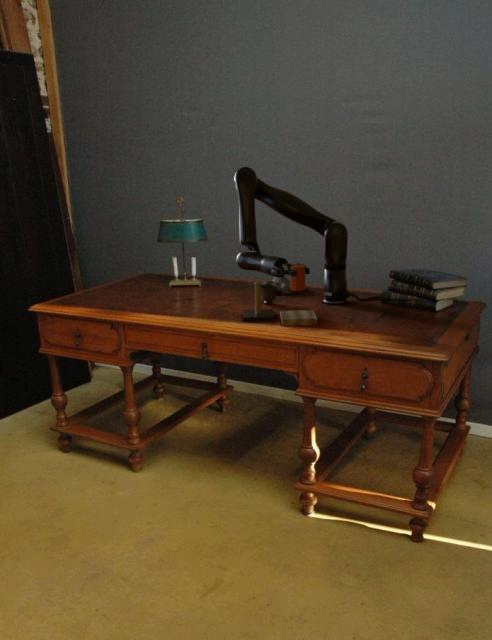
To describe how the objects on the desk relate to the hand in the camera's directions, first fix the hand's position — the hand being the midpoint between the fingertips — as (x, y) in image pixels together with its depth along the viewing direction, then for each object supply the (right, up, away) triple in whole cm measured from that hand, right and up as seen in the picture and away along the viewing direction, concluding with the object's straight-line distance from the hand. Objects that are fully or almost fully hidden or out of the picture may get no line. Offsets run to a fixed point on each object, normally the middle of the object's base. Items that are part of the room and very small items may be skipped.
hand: (302, 272), depth 243 cm
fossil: (-5, +3, +59) cm, 59 cm away
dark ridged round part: (-12, -7, +35) cm, 38 cm away
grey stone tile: (-1, -17, +9) cm, 19 cm away
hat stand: (-16, -14, +16) cm, 27 cm away
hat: (-1, -6, +4) cm, 8 cm away
